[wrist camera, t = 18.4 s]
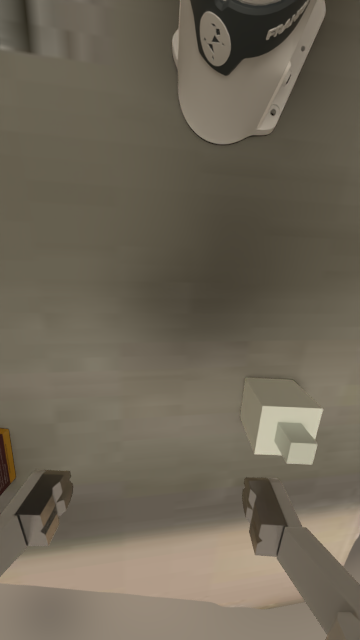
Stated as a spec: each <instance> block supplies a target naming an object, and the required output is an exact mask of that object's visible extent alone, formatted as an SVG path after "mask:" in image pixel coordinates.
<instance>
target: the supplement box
mask: <svg viewBox="0 0 360 640" xmlns="http://www.w3.org/2000/svg"><path fill="white" fill-rule="evenodd" d="M15 477H16V475H15V468H14V461H13V455H12V448H11V442H10V435H9V430H8V429H1V428H0V495H1V494H2V493H3V492H4V491H5V490H6V488H7V487H8V486H9V485H10V484H11V482H12V481H13V480H14V479H15Z"/></svg>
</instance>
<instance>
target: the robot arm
mask: <svg viewBox="0 0 360 640" xmlns="http://www.w3.org/2000/svg"><path fill="white" fill-rule="evenodd" d="M325 13H326V7H325V1H324V0H180V10H179V28H178V29H177V31H176V32H175V34H174V36H173V39H172V54H173V58H174V61H175V64H176V67H177V70H178V95H179V102H180V106H181V110H182V112H183V115H184V117H185V119H186V121H187V123H188V124H189V126H190V127H191V128H192V130H193V131H194V132H195V133H196V134H197V135H199V136H200V137H201V138H203V139H205V140H207V141H209V142H212V143H216V144H231V143H235V142H237V141H240V140H242V139H244V138H246V137H248V136H251V135H267V134H270V133H271V132H272V131H273V130H274V128H275V126H276V124H277V122H278V120H279V117H280V115H281V113H282V111H283V108H284V106H285V104H286V102H287V99H288V97H289V95H290V93H291V91H292V88H293V86H294V84H295V82H296V79H297V77H298V75H299V73H300V71H301V68H302V66H303V64H304V62H305V59H306V57H307V55H308V53H309V51H310V48H311V46H312V44H313V42H314V39H315V37H316V35H317V33H318V31H319V28H320V26H321V24H322V22H323V19H324V17H325ZM270 113H273V114H274V116H272V115H271V114H270ZM70 478H71V473H70V471H57V470H35V471H34V472H33V473H32V474H31V475H30V476H29V478H28V479H27V480H26V481H25V483H24V484H23V485H22V487H21V488H20V489H19V491H18V492H17V493H16V495H15V496H14V497H13V499H12V500H11V501H10V503H9V504H8V505H7V507H6V508H5V509H4V511H3V512H2V513H1V515H0V576H1V575H2V574H3V573H4V572H5V571H6V570H7V569H8V568H9V567H10V566H11V564H12V563H13V562H14V561H15V560H16V559H17V558H18V557H19V556H20V555H21V554H22V553H23V551H24V550H25V549H26V548H27V546H49V544H50V542H51V540H52V538H53V536H54V534H55V532H56V530H57V528H58V526H59V516H60V515H61V514H63V513H64V512H65V511H66V509H67V507H68V505H69V503H70V500H71V497H72V494H73V483H72V482H71V481H70V480H69V479H70ZM244 485H245V488H244V489H243V492H242V501H243V508H244V513H245V517H246V519H247V520H248V521H249V522H250V530H249V533H250V537H251V541H252V545H253V549H254V553H255V555H261V556H273V557H277V559H278V561H279V563H280V564H281V566H282V567H283V569H284V570H285V572H286V573H287V575H288V576H289V578H290V579H291V581H292V582H293V584H294V585H295V587H296V588H297V590H298V591H299V593H300V594H301V596H302V597H303V599H304V600H305V602H306V604H307V605H308V606H309V608H310V610H311V611H312V613H313V614H314V616H315V617H316V619H317V620H318V622H319V623H320V625H321V626H322V628H323V629H324V631H325V632H326V634H327V637H326V639H325V640H360V585H359V583H358V582H357V581H356V580H355V579H354V578H353V577H352V576H351V575H350V574H349V573H348V572H347V571H346V569H345V568H344V567H343V566H342V565H341V564H340V563H339V562H338V561H337V560H336V559H335V558H334V557H333V556H332V555H331V553H330V552H329V551H328V550H327V549H326V548H325V547H324V546H323V545H322V544H321V543H320V542H319V541H318V540H317V538H316V537H315V536H314V535H313V534H312V533H311V532H310V531H309V530H308V529H307V528H305V527H302V525H301V523H300V521H299V519H298V516H297V514H296V512H295V510H294V508H293V506H292V503H291V501H290V499H289V497H288V495H287V493H286V491H285V488H284V486H283V484H282V482H281V481H280V479H278V478H255V477H246V478H245V479H244Z"/></svg>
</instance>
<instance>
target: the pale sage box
mask: <svg viewBox="0 0 360 640" xmlns="http://www.w3.org/2000/svg"><path fill="white" fill-rule="evenodd" d="M322 411H323V408H322V407H321V406H320V405H319V404H318V403H317V402H316V401H315V400H314V399H313V398H312V397H310V396H309V395H308V394H307V393H306V392H305V391H304V390H303V389H302V388H301V387H300V386H299V385H298V384H297V383H296V382H295V381H294V380H290V379H267V378H245V383H244V390H243V398H242V405H241V412H240V419H241V422H242V424H243V427H244V429H245V432H246V434H247V437H248V439H249V442H250V444H251V447H252V449H253V452H254V454H265V455H282V456H283V458H284V460H285V461H286V463H289V464H310V465H312V463H313V460H314V456H315V452H316V449H317V445H318V444H317V442H316V441H315V438H316V434H317V430H318V426H319V423H320V419H321V415H322Z"/></svg>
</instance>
